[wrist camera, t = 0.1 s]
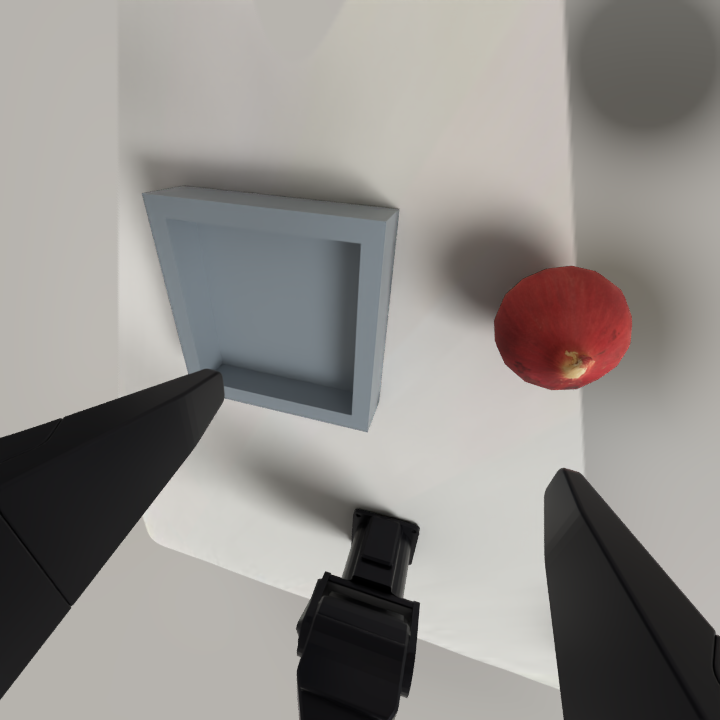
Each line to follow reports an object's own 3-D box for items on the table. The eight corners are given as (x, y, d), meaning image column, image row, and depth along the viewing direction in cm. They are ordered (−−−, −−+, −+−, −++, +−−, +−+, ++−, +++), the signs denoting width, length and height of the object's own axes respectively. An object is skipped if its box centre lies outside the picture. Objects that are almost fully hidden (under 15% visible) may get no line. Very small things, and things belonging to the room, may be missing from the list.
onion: (599, 341, 21) (653, 435, 14) (494, 347, 23) (500, 432, 16) (611, 240, 18) (684, 300, 12) (490, 257, 20) (495, 316, 14)
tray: (378, 401, 28) (367, 432, 25) (219, 366, 31) (192, 390, 28) (399, 208, 20) (386, 221, 17) (183, 185, 23) (141, 193, 20)
